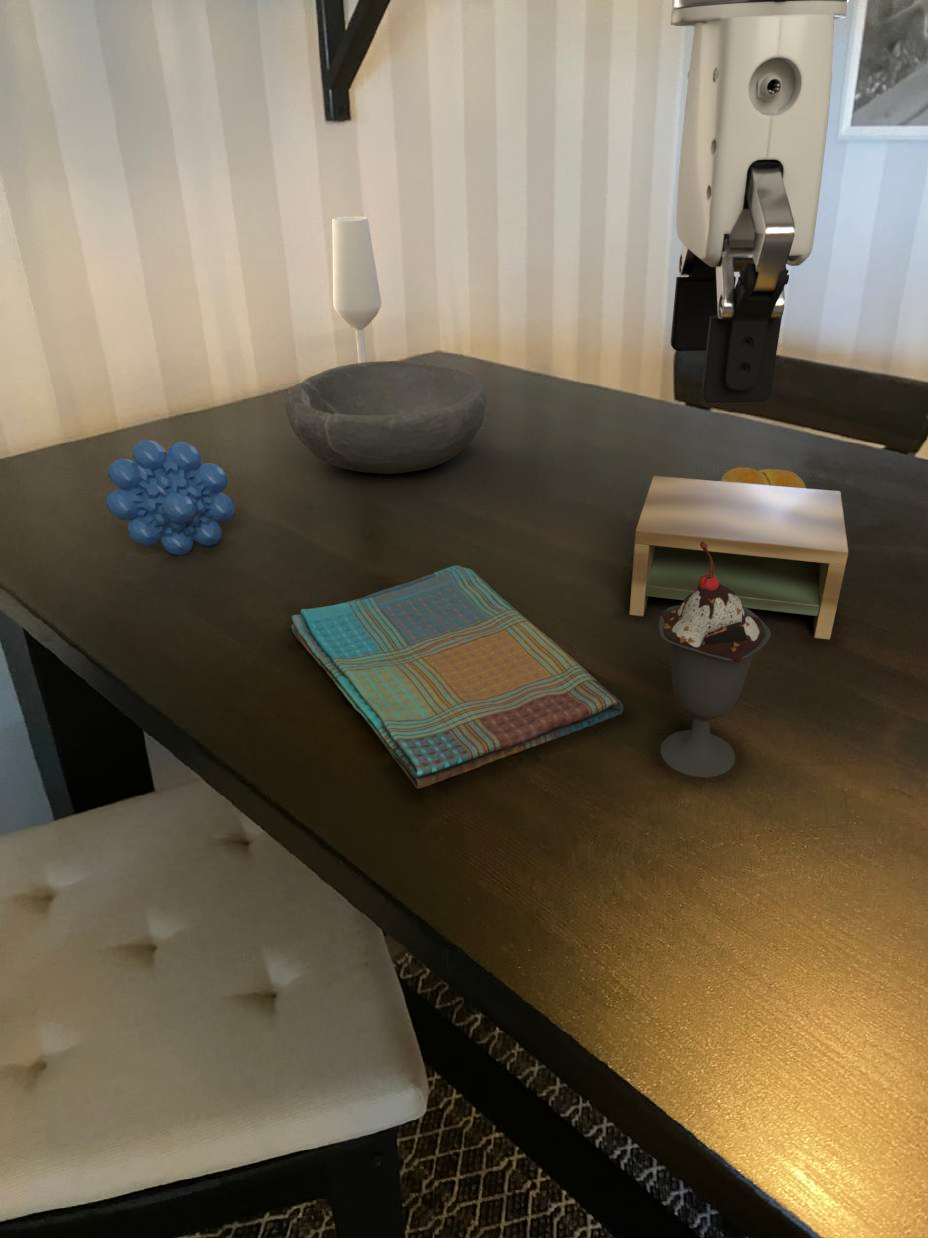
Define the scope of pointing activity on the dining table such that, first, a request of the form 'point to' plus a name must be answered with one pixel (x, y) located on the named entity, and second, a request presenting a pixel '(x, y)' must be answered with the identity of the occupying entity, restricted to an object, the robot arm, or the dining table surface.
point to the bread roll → (763, 477)
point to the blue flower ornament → (170, 496)
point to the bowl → (386, 415)
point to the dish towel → (451, 674)
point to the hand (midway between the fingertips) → (714, 372)
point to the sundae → (708, 670)
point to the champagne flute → (354, 276)
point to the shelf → (742, 546)
